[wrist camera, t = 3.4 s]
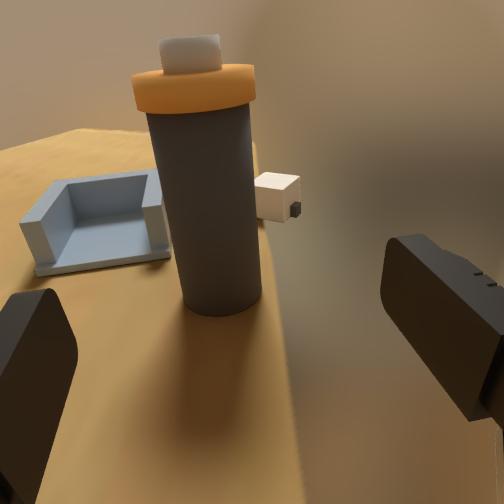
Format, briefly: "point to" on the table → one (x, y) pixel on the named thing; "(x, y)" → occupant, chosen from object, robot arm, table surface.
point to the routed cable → (277, 196)
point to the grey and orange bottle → (205, 170)
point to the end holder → (98, 223)
